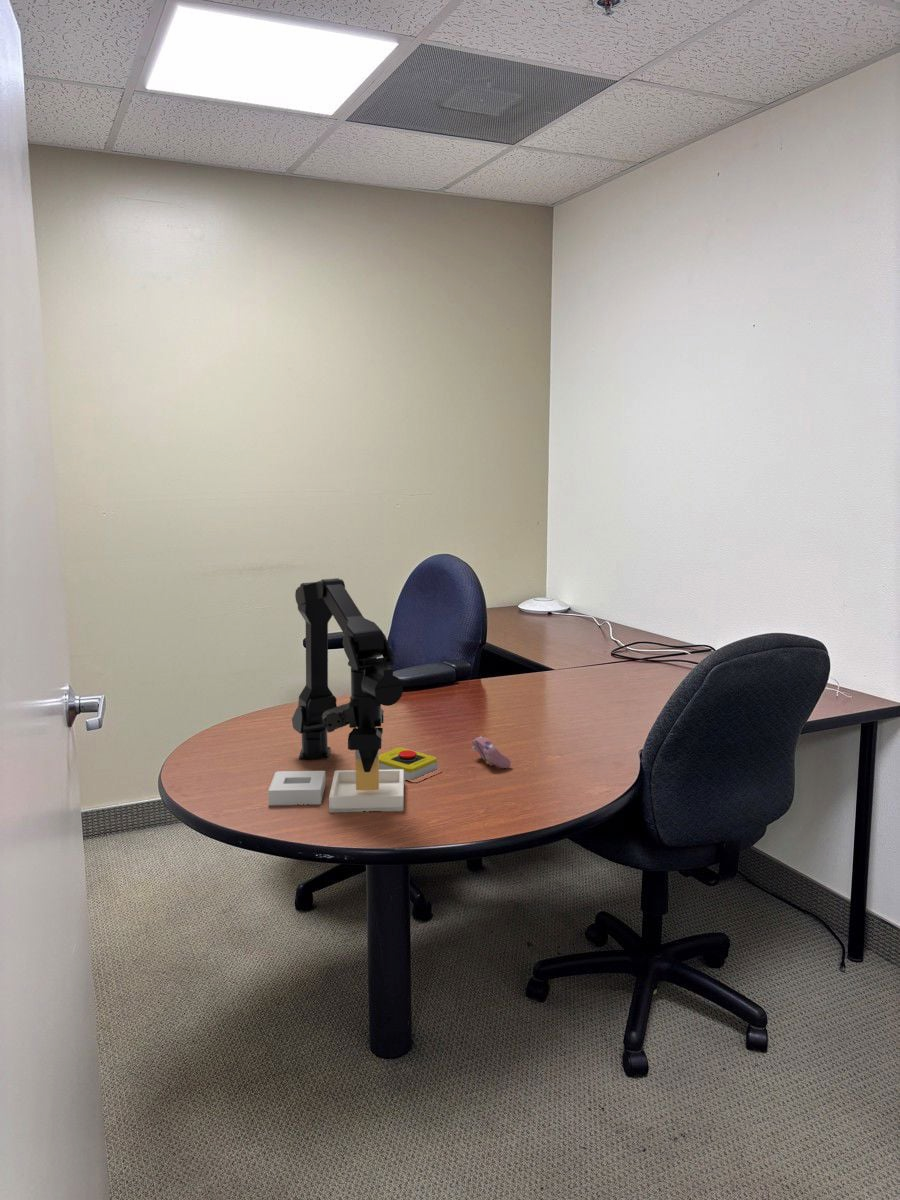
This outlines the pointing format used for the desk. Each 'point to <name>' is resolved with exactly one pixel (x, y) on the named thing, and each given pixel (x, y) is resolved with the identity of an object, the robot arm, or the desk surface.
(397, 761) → the emergency button
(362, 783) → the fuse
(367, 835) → the desk surface
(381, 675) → the robot arm
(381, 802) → the parts tray
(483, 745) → the video game controller
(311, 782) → the white slotted block
